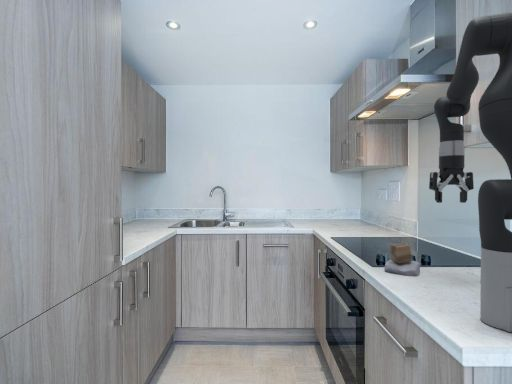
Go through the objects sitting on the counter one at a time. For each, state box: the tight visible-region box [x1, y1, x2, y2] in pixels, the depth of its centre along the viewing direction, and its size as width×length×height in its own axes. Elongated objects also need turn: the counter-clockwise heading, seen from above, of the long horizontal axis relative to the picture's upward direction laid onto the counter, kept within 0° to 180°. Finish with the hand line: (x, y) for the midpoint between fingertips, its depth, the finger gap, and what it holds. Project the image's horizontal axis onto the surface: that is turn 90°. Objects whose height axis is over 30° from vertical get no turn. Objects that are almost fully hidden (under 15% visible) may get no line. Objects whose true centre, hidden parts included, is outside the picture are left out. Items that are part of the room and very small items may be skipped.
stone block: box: [384, 259, 421, 277], centre depth 121 cm, size 12×5×10 cm
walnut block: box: [389, 242, 412, 264], centre depth 121 cm, size 5×5×6 cm
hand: (451, 202), depth 111 cm, fingers open, 8 cm apart
